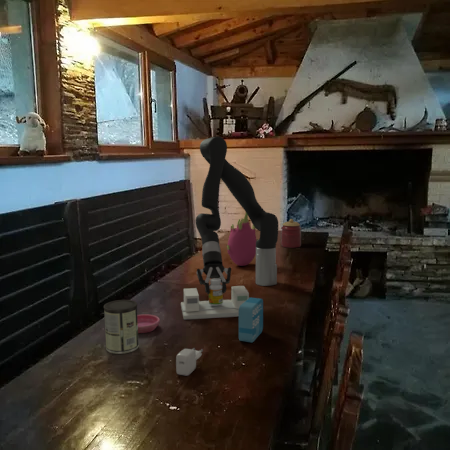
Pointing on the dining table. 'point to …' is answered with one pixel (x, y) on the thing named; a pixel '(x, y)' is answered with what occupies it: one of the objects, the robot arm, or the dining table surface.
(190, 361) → the power adapter
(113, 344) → the coffee can
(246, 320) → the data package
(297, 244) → the canister
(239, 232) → the pink dragon fruit
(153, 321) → the saucer
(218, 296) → the supplement bottle
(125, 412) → the dining table surface
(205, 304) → the rail panel
